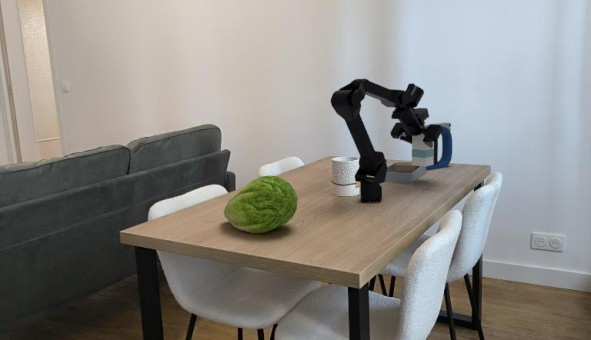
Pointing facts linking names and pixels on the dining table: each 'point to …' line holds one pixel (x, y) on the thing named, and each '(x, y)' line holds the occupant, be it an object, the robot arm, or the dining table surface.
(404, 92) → the robot arm
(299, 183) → the dining table surface
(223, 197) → the dining table surface
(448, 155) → the handheld scanner
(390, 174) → the tote
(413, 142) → the carton
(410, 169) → the walnut block
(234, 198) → the lettuce
